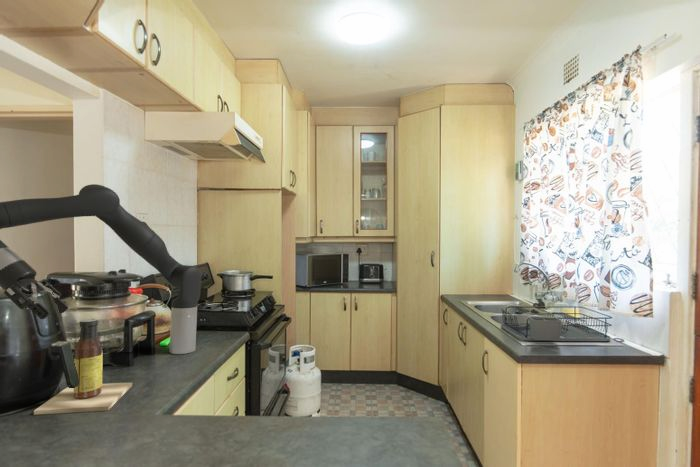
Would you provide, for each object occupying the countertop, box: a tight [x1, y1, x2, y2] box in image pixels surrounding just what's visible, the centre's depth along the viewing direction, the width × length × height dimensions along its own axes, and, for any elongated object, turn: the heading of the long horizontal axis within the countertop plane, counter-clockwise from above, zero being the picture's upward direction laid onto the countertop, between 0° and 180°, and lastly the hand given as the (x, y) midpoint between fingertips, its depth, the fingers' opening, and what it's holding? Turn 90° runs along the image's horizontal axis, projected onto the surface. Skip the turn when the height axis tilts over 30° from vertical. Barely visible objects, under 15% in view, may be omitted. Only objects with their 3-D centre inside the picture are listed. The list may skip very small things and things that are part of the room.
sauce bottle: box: [73, 318, 104, 399], centre depth 97 cm, size 6×6×20 cm
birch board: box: [33, 382, 133, 416], centre depth 97 cm, size 16×16×1 cm
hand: (56, 313), depth 96 cm, fingers open, 8 cm apart
